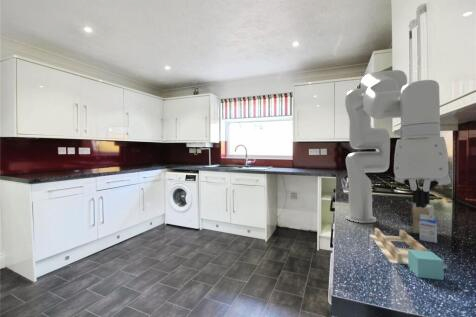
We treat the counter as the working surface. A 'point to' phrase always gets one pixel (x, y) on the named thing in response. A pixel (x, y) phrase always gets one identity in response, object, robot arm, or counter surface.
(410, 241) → the channel
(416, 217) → the box
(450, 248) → the counter surface
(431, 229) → the medicine box
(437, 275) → the block
